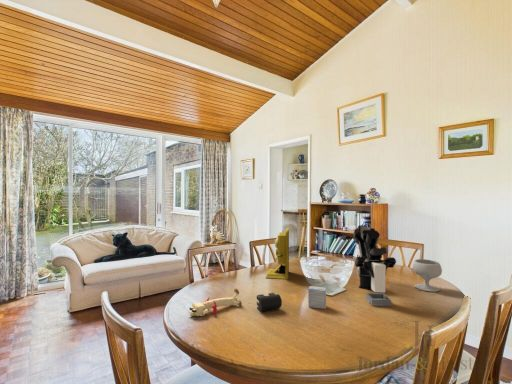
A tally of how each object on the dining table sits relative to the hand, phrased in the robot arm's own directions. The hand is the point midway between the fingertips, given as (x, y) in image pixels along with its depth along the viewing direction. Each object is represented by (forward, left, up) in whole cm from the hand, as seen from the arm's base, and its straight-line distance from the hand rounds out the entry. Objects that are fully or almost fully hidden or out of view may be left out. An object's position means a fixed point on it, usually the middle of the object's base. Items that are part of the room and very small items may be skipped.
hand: (379, 277), depth 135 cm
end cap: (-36, -41, -13) cm, 56 cm away
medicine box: (-21, -23, -13) cm, 33 cm away
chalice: (+13, +40, -13) cm, 44 cm away
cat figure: (-54, -57, -13) cm, 80 cm away
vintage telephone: (-65, +5, -13) cm, 66 cm away
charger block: (-1, +1, -7) cm, 7 cm away
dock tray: (-1, +1, -13) cm, 13 cm away
